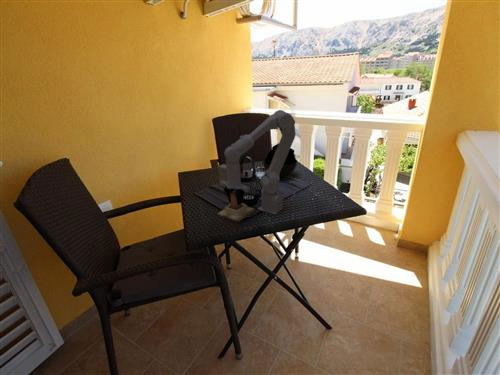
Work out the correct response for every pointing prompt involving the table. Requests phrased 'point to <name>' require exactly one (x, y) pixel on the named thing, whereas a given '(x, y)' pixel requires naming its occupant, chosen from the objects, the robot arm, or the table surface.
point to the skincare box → (222, 174)
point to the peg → (234, 201)
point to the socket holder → (236, 212)
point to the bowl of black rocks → (288, 164)
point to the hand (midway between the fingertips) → (235, 203)
